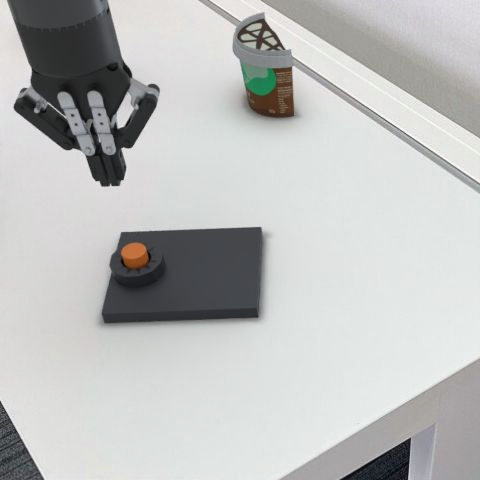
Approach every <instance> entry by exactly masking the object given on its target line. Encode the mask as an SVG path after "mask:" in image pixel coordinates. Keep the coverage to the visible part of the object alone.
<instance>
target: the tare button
mask: <svg viewBox="0 0 480 480" xmlns="http://www.w3.org/2000/svg"><path fill="white" fill-rule="evenodd" d="M121 254H122V258H123V261H124V264H125V266H126V267H127V268H129V269H138V268H141V267H143V266H146V265H147V264H148V262H149V257H148V254H147V250H146V247H145V246H144V245H143V244H141V243H131V244H128V245H126V246H125V247H124V248H123V249H122V251H121Z"/></svg>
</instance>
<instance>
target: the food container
mask: <svg viewBox="0 0 480 480" xmlns="http://www.w3.org/2000/svg"><path fill="white" fill-rule="evenodd" d="M231 50H232V52H233V55H234V56H235V57H236V58H237V59H238V60H239V65H240V70H241V74H242V78H243V83H244V89H245V93H246V99H247V103H248V106H249V108H250V109H251V110H252V111H253V112H255V113H256V114H258V115H260V116H264V117H269V118H290V117H294V116H295V104H294V103H295V99H294V77H293V75H294V74H293V67H294V60H293V54H292V48H289V49H286V48H285V46H284V45H283V43H282V41H281V39H280V37H279V36H278V34H277V32H275V30H274V29H272V28H271V26H270V25H269V24H268V22H267V20H266V13H265V11H262V12H258V13H255V14H252V15H250V16H248V17H246V18H244V19H243V20H241V21H240V22H239V23H238V24H237V25H236V27H235V28H234V32H233V36H232V49H231Z"/></svg>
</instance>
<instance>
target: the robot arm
mask: <svg viewBox="0 0 480 480" xmlns="http://www.w3.org/2000/svg"><path fill="white" fill-rule="evenodd" d="M6 2H7V5H8V8H9V12H10V13H11V18H12V20H13V23H14V25H15V29H16V31H17V34H18V37H19V40H20V42H21V45H22V48H23V51H24V54H25V57H26V59H27V62H28V65H29V66H30V68H31V69H30V70H31V75H30V81H29V83H30V85H29V86H28V87H23V88H21V89H20V91H19V93H18V94H17V97H16V99H15V101H14V104H13V111H15V113H17V114H18V115H19V116H21V117H22V118H23V119H24V120H25V121H27V122H28V123H29V124H30V125H31V126H33V127H34V128H35V129H37V130H38V131H39V132H41V133H42V134H43V135H45V137H47V138H48V139H50V141H52V142H53V143H55V144H56V145H57V146H59V148H61V149H62V150H64V151H72V150H76V151H80V152H82V153H83V155H84V156H85V159H86V162H87V165H88V168H89V171H90V174H91V177H92V179H93V180H94V181H95V182H99V184H100V187H102V188H106V187H110V186H111V187H120V186H121V182H122V181H124V179H125V178H126V177H125V176H126V173H127V163H126V160H125V156H124V152H123V148H124V149H128V150H129V149H132V148H133V147H134V145H135V144H136V142H137V140H138V139H139V138H140V136H141V134H142V132H143V130H144V129H145V127H146V125H147V124H148V122H149V120H150V119H151V117H152V115H153V114H154V113H155V110H156V108H157V107H158V102H159V97H160V93H161V88H160V87H159V86H158V85H157V84H156V83H149V84H147V85H146V84H145V83H143V82H141V81H139V80H137V79H135V78H134V77H133V72H132V69H131V68H130V67H129V65H127V63H126V62H125V60H124V59H123V56H122V51H121V47H120V45H119V39H118V36H117V32H116V31H117V30H116V28H115V24H114V19H113V16H112V12H111V8H110V3H109V0H6ZM128 93H129V95H130V97H131V98H130V105H131V107H132V108H133V110H132V112H131V113H130V115H129V117H128V118H127V120H126V122H125V124H124V125H123V126H121V127H120V128H119V125H118V111H119V110H120V107H121V105H122V103H123V102H124V100H125V98H126V96H127V94H128Z"/></svg>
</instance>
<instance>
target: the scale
mask: <svg viewBox="0 0 480 480" xmlns="http://www.w3.org/2000/svg"><path fill="white" fill-rule="evenodd" d="M119 234H120V235H119V239H118V243H117V247H116V250H115V251H114V252H113V253H112V254H111V256H110V260H109V264H108V265H109V268H110V277H109V280H108V285H107V288H106V292H105V296H104V300H103V306H102V309H101V313H100V315H101V318H102V321H103V322H104V324H117V323H119V324H120V323H141V322H144V323H145V322H166V321H167V322H169V321H192V320H193V321H194V320H215V319H216V320H217V319H219V320H220V319H221V320H222V319H247V318H259V313H260V296H261V295H260V293H261V277H262V276H261V274H262V255H263V238H264V235H263V227H262V226H246V227H243V226H241V227H219V228H218V227H217V228H194V229H191V228H190V229H189V228H188V229H166V230H165V229H164V230H163V229H162V230H137V231H121V232H120V233H119ZM131 243H141V244H143V245H144V246H145V247H146V250H147V254H148V257H149V262H148V264H147V265H146V266H143V267H141V268H138V269H129V268H127V267H126V266H125V264H124V261H123V258H122V254H121V251H122V249H123V248H124V247H125V246H126V245H128V244H131Z"/></svg>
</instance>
